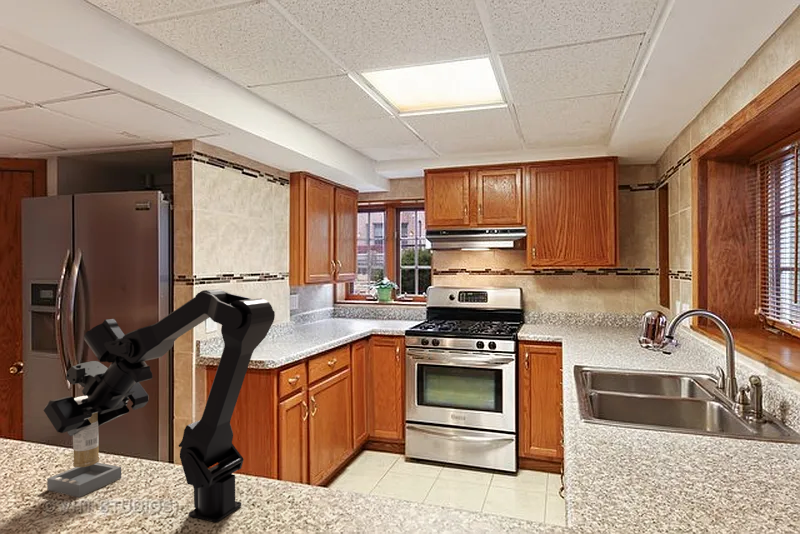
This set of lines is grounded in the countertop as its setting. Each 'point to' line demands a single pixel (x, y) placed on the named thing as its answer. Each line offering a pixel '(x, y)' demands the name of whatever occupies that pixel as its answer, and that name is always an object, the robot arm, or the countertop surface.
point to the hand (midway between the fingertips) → (80, 430)
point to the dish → (83, 479)
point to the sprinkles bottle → (86, 441)
